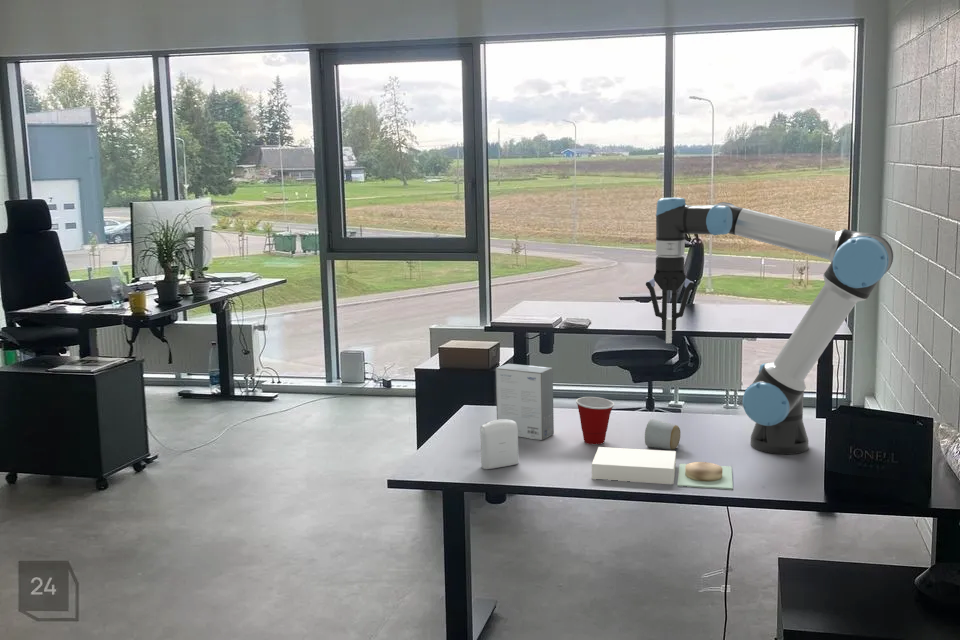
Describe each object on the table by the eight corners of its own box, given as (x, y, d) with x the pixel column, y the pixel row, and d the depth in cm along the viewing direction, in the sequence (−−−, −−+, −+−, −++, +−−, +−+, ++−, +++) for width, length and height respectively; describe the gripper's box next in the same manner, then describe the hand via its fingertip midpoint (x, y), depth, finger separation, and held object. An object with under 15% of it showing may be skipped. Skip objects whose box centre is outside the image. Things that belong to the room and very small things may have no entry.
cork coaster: (723, 471, 231) (723, 463, 231) (721, 482, 223) (721, 474, 223) (686, 468, 234) (687, 460, 234) (683, 479, 226) (683, 471, 225)
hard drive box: (554, 434, 267) (554, 367, 264) (542, 441, 261) (541, 373, 257) (509, 427, 275) (508, 362, 272) (495, 433, 269) (494, 367, 266)
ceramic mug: (672, 454, 247) (673, 426, 246) (643, 449, 251) (644, 422, 250) (685, 444, 256) (686, 417, 255) (657, 440, 260) (658, 413, 259)
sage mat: (731, 468, 235) (731, 466, 235) (732, 489, 220) (732, 488, 219) (679, 464, 238) (679, 463, 238) (677, 486, 223) (677, 484, 223)
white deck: (675, 466, 237) (675, 451, 237) (673, 484, 224) (673, 468, 223) (598, 461, 242) (598, 446, 242) (591, 479, 229) (591, 463, 228)
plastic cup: (610, 449, 252) (610, 407, 250) (572, 446, 256) (571, 404, 254) (617, 437, 262) (617, 397, 260) (580, 434, 266) (580, 394, 264)
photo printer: (484, 470, 237) (484, 424, 235) (478, 466, 241) (477, 420, 239) (521, 465, 241) (520, 419, 239) (514, 460, 245) (513, 415, 242)
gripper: (644, 257, 243) (643, 344, 247) (694, 257, 240) (693, 345, 244) (646, 254, 250) (645, 339, 254) (695, 254, 247) (693, 340, 251)
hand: (668, 342), depth 249 cm, fingers closed
